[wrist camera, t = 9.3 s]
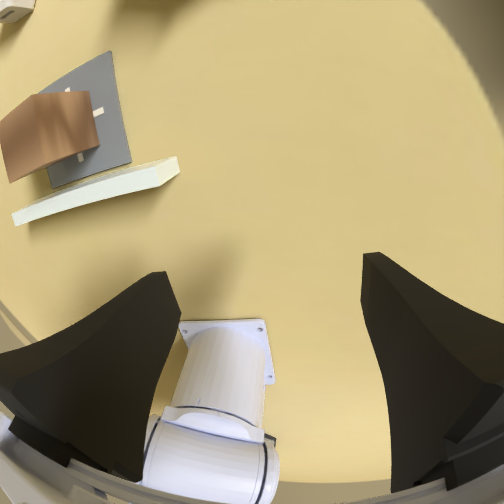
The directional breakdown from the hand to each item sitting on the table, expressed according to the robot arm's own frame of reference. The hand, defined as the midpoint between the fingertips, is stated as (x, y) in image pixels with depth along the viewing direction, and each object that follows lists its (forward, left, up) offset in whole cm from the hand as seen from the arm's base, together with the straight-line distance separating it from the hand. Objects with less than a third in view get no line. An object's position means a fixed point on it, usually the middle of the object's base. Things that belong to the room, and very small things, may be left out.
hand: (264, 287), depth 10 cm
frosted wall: (+4, +14, -10) cm, 18 cm away
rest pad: (+9, +14, -10) cm, 19 cm away
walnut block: (+9, +14, -10) cm, 19 cm away
